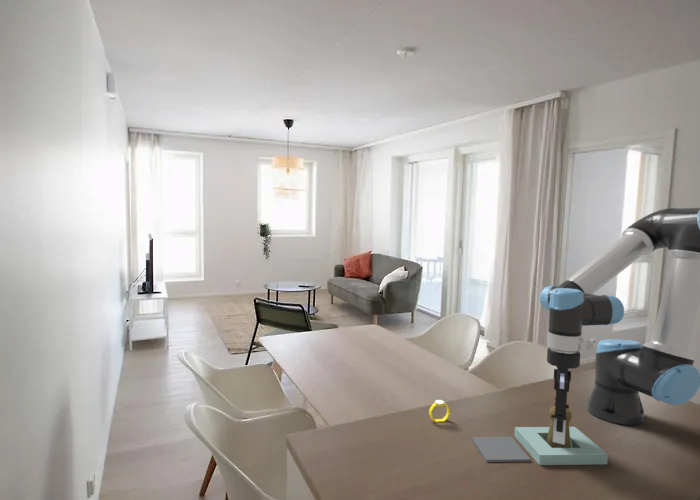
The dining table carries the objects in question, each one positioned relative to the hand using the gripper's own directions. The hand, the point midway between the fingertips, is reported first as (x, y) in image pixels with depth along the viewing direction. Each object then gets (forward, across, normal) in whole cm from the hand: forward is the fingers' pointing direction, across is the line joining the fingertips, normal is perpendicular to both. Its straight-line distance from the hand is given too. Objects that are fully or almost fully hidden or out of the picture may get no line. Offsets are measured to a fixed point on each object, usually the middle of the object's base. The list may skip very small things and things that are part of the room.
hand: (558, 437), depth 111 cm
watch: (+3, 0, +31) cm, 32 cm away
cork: (+3, 0, 0) cm, 3 cm away
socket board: (+3, 0, 0) cm, 3 cm away
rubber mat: (+3, -8, +14) cm, 16 cm away
